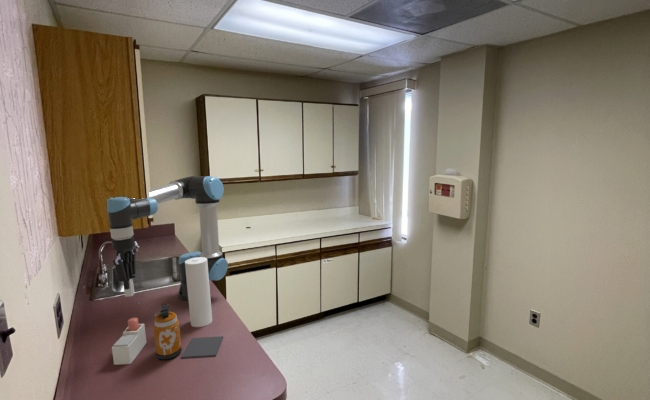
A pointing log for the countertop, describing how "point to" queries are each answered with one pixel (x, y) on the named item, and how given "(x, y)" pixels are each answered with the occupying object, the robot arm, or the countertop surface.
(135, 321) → the salmon pink capsule
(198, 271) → the cylinder container
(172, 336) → the canister
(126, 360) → the white rectangular box
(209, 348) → the drip mat
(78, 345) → the countertop surface
